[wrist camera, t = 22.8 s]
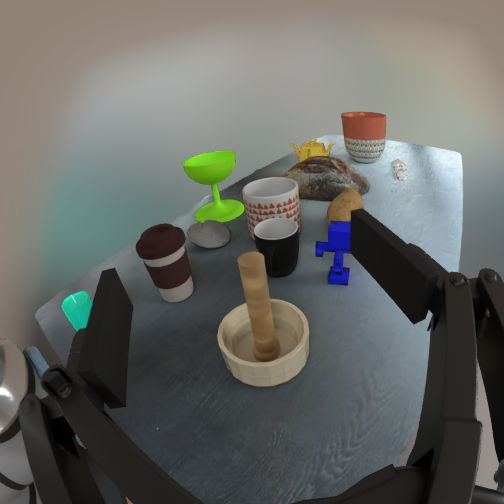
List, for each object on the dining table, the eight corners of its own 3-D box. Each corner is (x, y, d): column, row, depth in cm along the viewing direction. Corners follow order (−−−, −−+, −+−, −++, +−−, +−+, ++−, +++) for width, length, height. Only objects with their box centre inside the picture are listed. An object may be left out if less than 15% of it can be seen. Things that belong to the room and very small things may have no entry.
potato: (318, 239, 72) (317, 205, 67) (339, 213, 82) (339, 182, 77) (351, 247, 67) (352, 211, 62) (368, 218, 77) (369, 187, 72)
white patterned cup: (246, 224, 84) (239, 182, 77) (293, 215, 84) (289, 173, 78) (253, 249, 72) (245, 201, 65) (308, 239, 73) (305, 191, 66)
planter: (341, 166, 116) (339, 117, 105) (345, 154, 131) (343, 111, 119) (387, 169, 109) (387, 118, 97) (385, 157, 124) (384, 112, 112)
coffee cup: (176, 314, 56) (151, 251, 48) (148, 297, 62) (123, 239, 54) (209, 286, 63) (192, 224, 55) (179, 273, 68) (161, 216, 60)
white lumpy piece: (394, 179, 99) (394, 177, 99) (392, 159, 120) (392, 157, 120) (409, 180, 97) (410, 178, 96) (404, 160, 118) (404, 158, 117)
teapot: (336, 162, 122) (335, 141, 117) (310, 169, 118) (309, 146, 113) (316, 156, 134) (314, 136, 128) (291, 162, 129) (289, 141, 124)
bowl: (254, 403, 38) (247, 383, 35) (211, 347, 48) (203, 324, 45) (326, 356, 43) (327, 332, 40) (276, 312, 53) (273, 287, 50)
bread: (294, 170, 118) (292, 147, 113) (373, 176, 103) (373, 151, 98) (267, 196, 99) (263, 168, 93) (364, 205, 84) (365, 174, 79)
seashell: (183, 244, 79) (198, 254, 71) (180, 224, 77) (195, 231, 69) (221, 234, 85) (239, 242, 77) (219, 215, 83) (237, 221, 75)
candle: (82, 348, 50) (52, 304, 44) (94, 327, 55) (68, 284, 49) (103, 351, 49) (74, 306, 43) (115, 329, 54) (89, 284, 48)
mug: (265, 255, 69) (260, 216, 64) (304, 257, 66) (301, 217, 61) (250, 289, 60) (242, 247, 54) (294, 293, 57) (290, 249, 52)
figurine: (364, 280, 57) (369, 228, 50) (335, 295, 55) (337, 241, 48) (341, 262, 63) (342, 213, 56) (313, 275, 61) (311, 224, 54)
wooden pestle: (263, 366, 43) (244, 274, 33) (248, 349, 46) (226, 258, 37) (286, 352, 45) (276, 259, 35) (270, 336, 48) (256, 244, 38)
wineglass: (196, 228, 86) (182, 171, 76) (194, 208, 99) (182, 158, 90) (249, 216, 88) (240, 158, 78) (239, 197, 101) (231, 147, 92)
